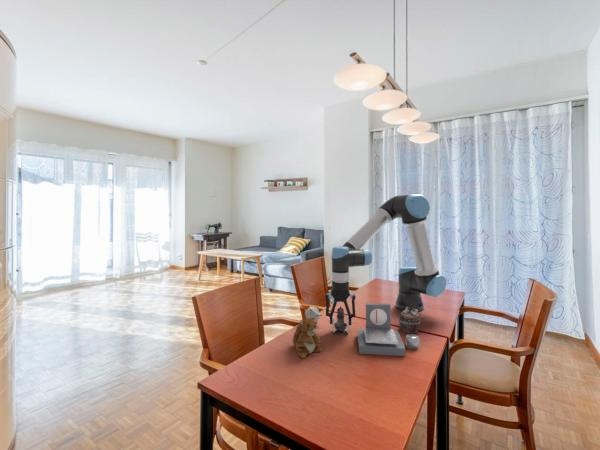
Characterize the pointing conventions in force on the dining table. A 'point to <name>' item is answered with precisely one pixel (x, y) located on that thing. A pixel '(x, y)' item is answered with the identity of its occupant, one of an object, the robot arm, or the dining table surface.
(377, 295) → the dining table surface
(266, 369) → the dining table surface
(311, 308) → the game die
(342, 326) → the dark grey tall piece
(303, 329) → the stuffed squirrel
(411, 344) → the spacer
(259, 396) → the dining table surface
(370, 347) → the scale base
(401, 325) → the cupcake
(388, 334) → the pan
